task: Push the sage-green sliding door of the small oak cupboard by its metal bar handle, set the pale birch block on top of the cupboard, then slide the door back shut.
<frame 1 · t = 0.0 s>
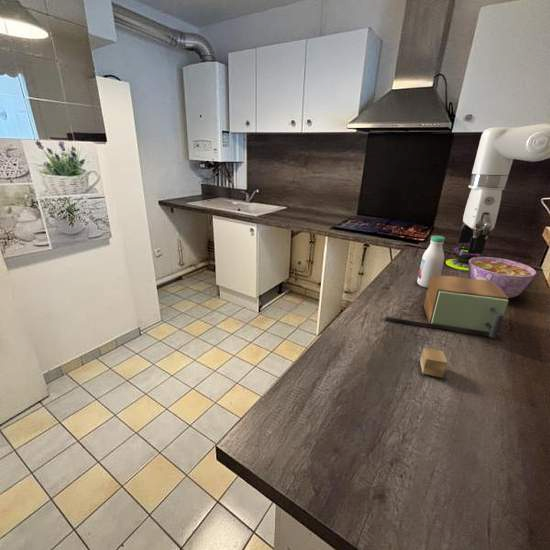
hand: (469, 247, 79), 25 cm above the worktop, tool pointing down, fingers open, 9 cm apart
cupboard: (456, 318, 94), on the worktop
toy cauldron: (463, 265, 139), on the worktop
bowl of food: (491, 294, 110), on the worktop
sliding door: (470, 317, 83), point 6 cm above the worktop, slide at 0.0 cm
milk bottle: (427, 285, 118), on the worktop
block: (431, 369, 72), on the worktop
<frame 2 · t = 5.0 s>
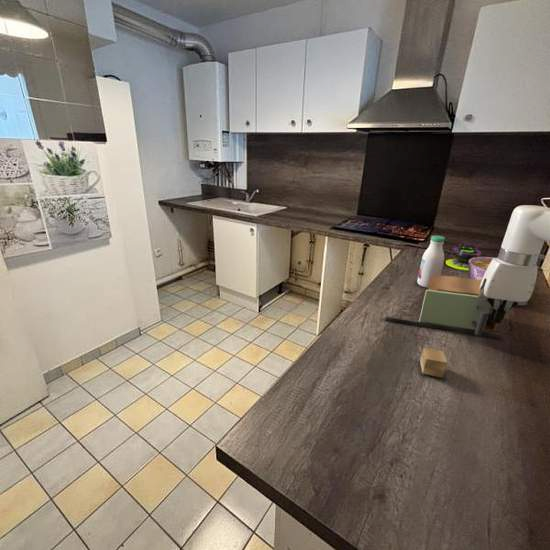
hand: (494, 320, 79), 7 cm above the worktop, tool pointing down, fingers closed
sliding door: (456, 315, 84), point 6 cm above the worktop, slide at 3.5 cm
everything else where it was.
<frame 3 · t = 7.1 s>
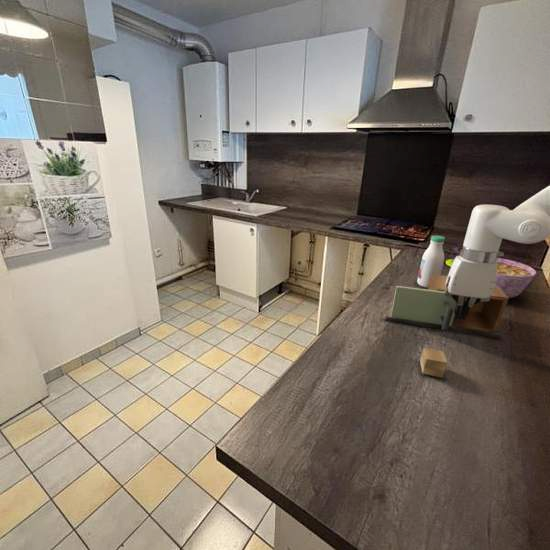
hand: (460, 316, 81), 7 cm above the worktop, tool pointing down, fingers closed
sliding door: (425, 311, 86), point 6 cm above the worktop, slide at 11.8 cm
everything else where it was.
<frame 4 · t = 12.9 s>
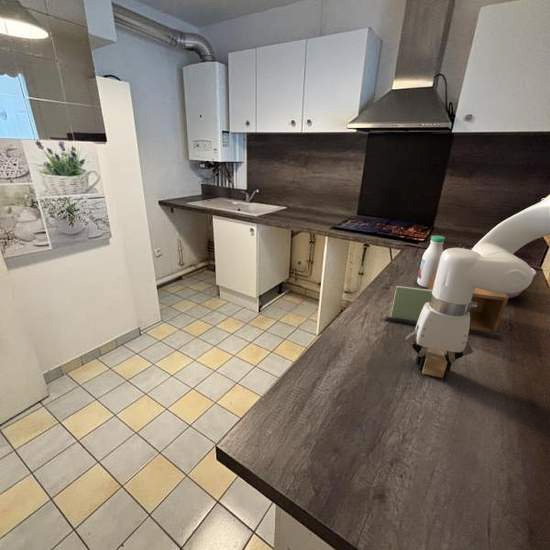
hand: (431, 368, 71), 0 cm above the worktop, tool pointing down, fingers closed on block, 4 cm apart
block: (431, 369, 72), on the worktop, touching gripper
everything else where it was.
when the fingers open (12 cm above the worktop, at t = 19.5 s): block stays where it is, resting on cupboard.
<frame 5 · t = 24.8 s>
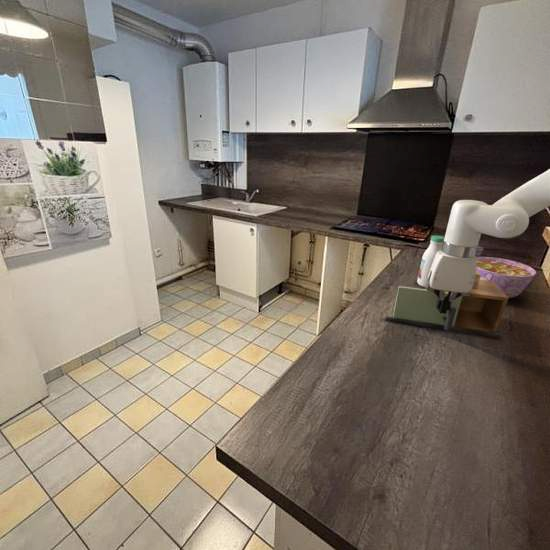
hand: (441, 311, 82), 8 cm above the worktop, tool pointing down, fingers closed
sliding door: (427, 311, 86), point 6 cm above the worktop, slide at 11.2 cm, touching gripper
block: (466, 284, 89), point 12 cm above the worktop, touching cupboard
everything else where it was.
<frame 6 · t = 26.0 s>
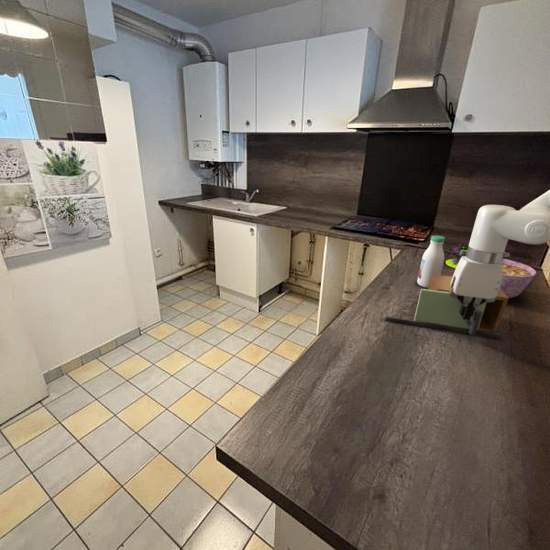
hand: (464, 317, 81), 7 cm above the worktop, tool pointing down, fingers closed
sliding door: (451, 314, 84), point 6 cm above the worktop, slide at 4.9 cm, touching gripper
everything else where it was.
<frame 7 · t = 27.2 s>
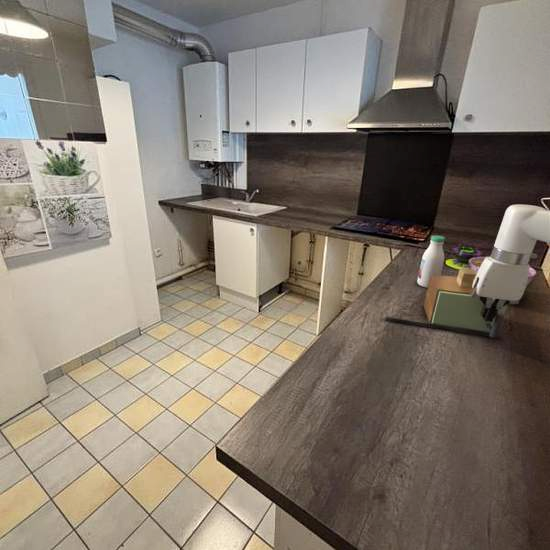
hand: (486, 319, 79), 8 cm above the worktop, tool pointing down, fingers closed
sliding door: (470, 317, 83), point 6 cm above the worktop, slide at -0.1 cm, touching gripper
everything else where it was.
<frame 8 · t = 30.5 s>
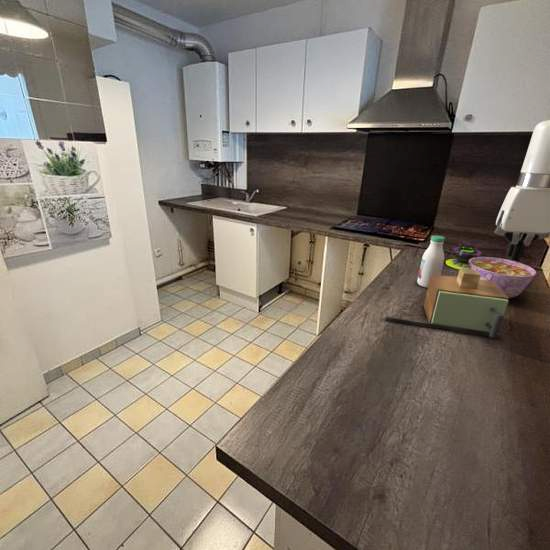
hand: (512, 259, 72), 25 cm above the worktop, tool pointing down, fingers closed
sliding door: (470, 317, 83), point 6 cm above the worktop, slide at 0.0 cm
everything else where it was.
at the end: sliding door pulled out 11.8 cm at the most during the clip, back to where it started at the end; block inside the target area on the cupboard (0.1 cm from its centre), point 12.0 cm above the cupboard's base; sliding door slide at 0.0 cm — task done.
